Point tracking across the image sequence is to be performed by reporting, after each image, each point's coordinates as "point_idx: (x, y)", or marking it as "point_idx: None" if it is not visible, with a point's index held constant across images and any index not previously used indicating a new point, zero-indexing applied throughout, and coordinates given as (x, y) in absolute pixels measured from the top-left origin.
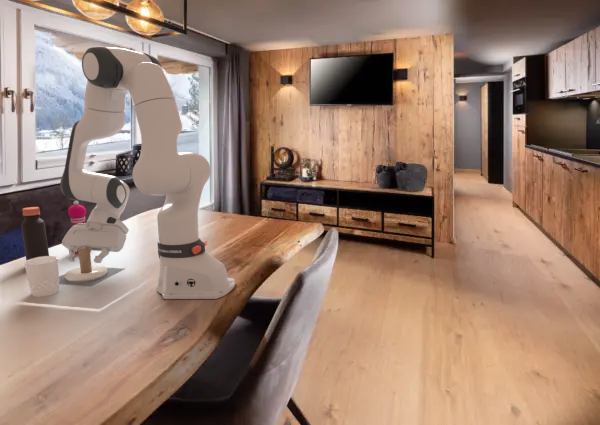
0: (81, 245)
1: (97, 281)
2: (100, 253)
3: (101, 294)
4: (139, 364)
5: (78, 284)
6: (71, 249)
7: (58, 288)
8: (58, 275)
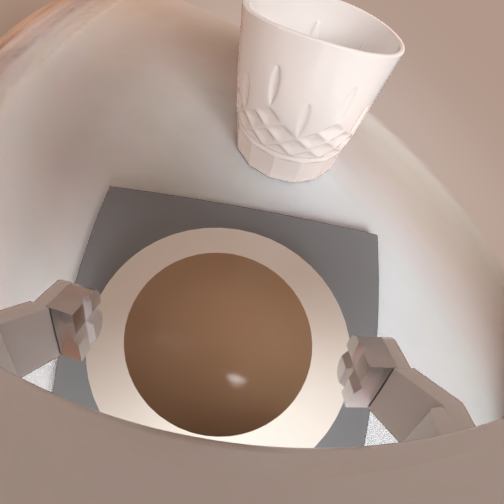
0: (333, 448)
1: (100, 248)
2: (17, 313)
3: (62, 144)
4: (24, 26)
5: (183, 206)
6: (437, 412)
7: (238, 135)
8: (241, 93)
